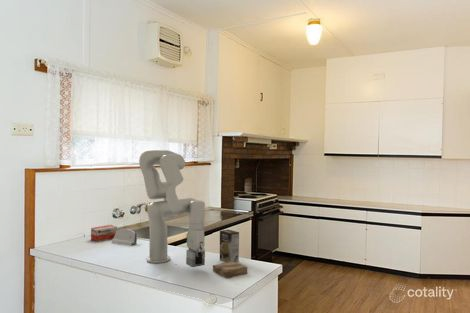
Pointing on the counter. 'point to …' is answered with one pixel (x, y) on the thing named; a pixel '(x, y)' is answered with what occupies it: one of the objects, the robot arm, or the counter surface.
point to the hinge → (125, 237)
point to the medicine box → (103, 232)
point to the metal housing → (193, 258)
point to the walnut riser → (230, 269)
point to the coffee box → (229, 246)
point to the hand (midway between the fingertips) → (195, 261)
